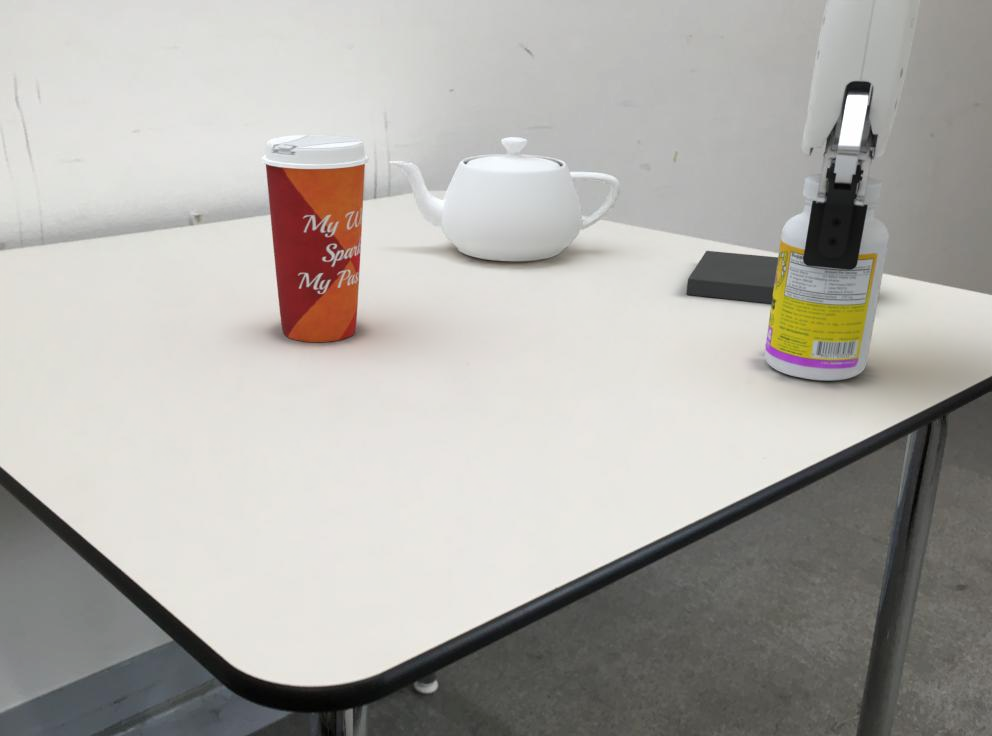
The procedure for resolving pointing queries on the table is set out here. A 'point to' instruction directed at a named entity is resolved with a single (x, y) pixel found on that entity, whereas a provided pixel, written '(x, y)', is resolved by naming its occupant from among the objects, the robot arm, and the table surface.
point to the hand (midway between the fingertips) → (832, 251)
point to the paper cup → (316, 232)
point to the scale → (734, 277)
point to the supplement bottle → (825, 299)
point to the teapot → (510, 204)
